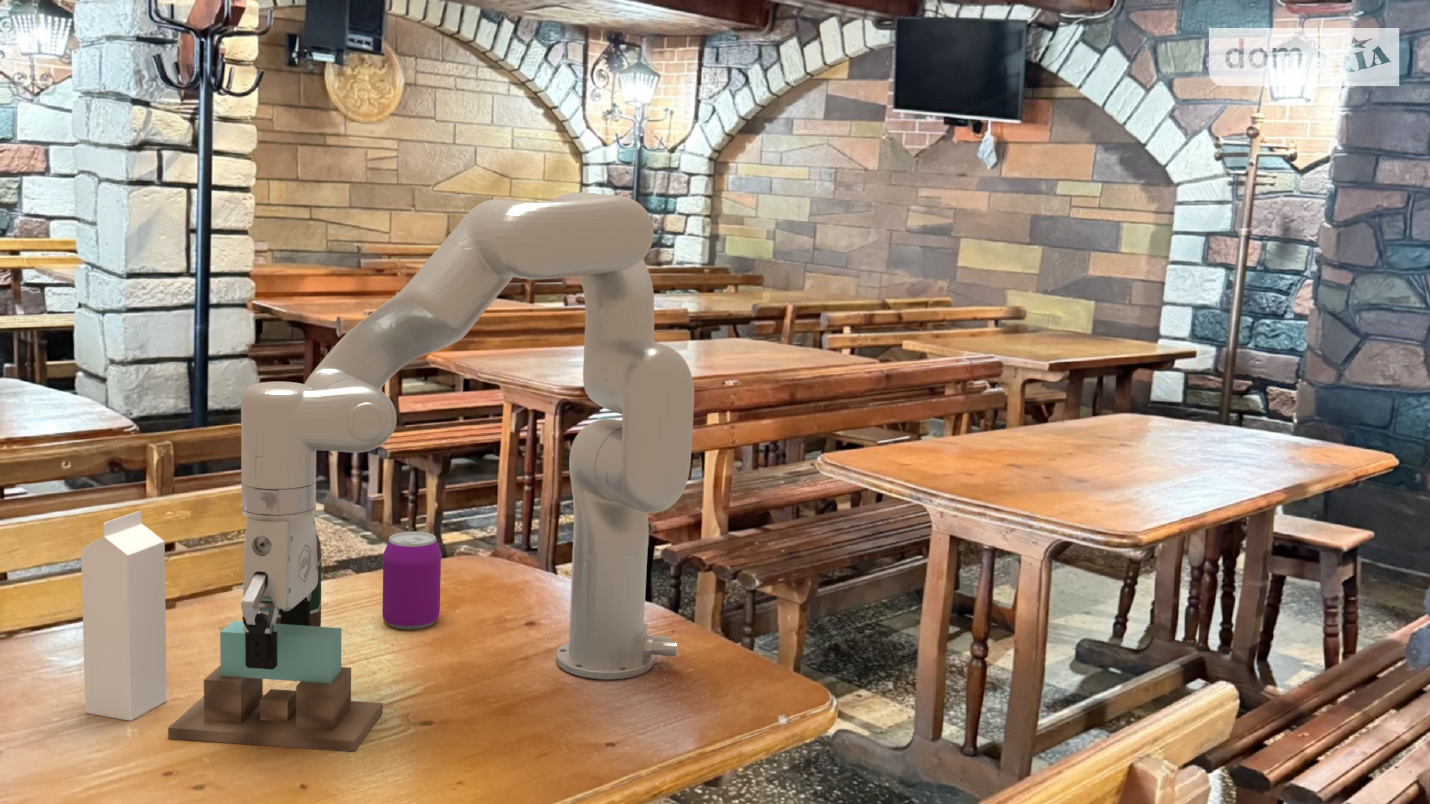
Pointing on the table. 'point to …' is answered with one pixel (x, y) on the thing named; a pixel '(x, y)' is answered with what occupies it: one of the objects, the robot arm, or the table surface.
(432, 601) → the beverage can
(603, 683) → the table surface
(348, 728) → the ledge stand
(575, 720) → the table surface
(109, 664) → the milk
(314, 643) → the teal bar
